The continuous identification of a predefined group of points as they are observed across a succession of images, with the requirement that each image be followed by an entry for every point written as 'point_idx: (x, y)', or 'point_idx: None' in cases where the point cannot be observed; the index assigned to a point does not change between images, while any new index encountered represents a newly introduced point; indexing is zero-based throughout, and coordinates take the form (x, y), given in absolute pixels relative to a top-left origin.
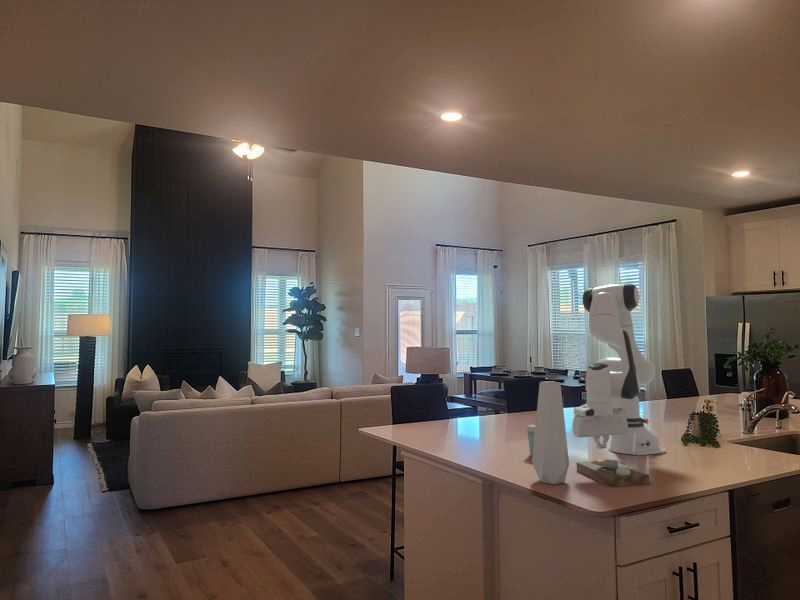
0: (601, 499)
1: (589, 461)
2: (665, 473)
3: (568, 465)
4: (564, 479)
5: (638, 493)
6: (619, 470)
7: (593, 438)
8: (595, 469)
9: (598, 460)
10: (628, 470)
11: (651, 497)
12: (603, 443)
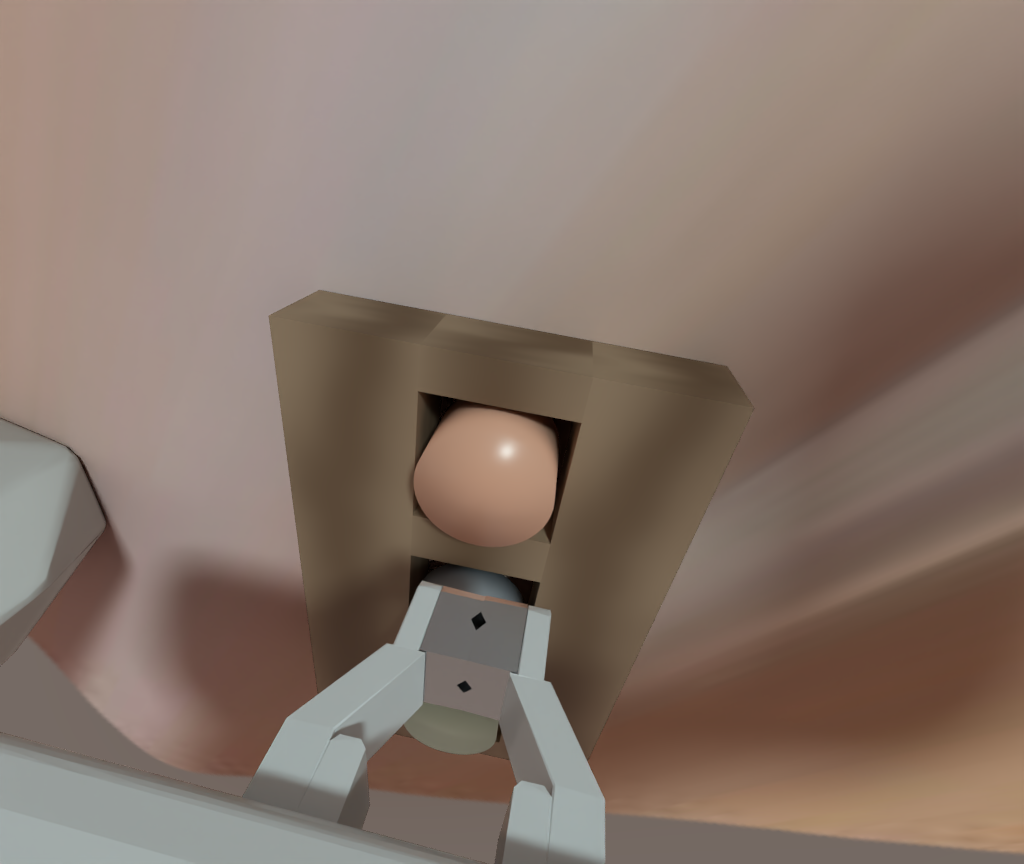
0: (214, 728)
1: (436, 355)
2: (961, 648)
3: (47, 587)
4: (83, 558)
5: (409, 750)
6: (411, 729)
7: (291, 718)
8: (320, 588)
9: (463, 489)
10: (469, 749)
11: (423, 784)
12: (479, 710)
